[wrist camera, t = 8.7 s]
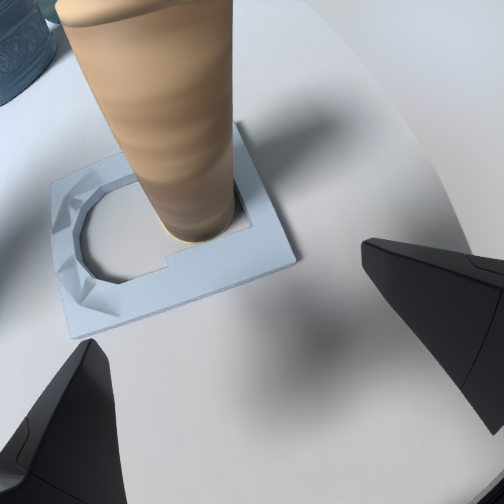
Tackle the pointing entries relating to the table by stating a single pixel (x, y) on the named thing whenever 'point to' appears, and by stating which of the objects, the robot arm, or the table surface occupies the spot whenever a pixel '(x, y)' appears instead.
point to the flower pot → (49, 10)
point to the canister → (22, 46)
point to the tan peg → (165, 100)
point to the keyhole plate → (179, 264)
